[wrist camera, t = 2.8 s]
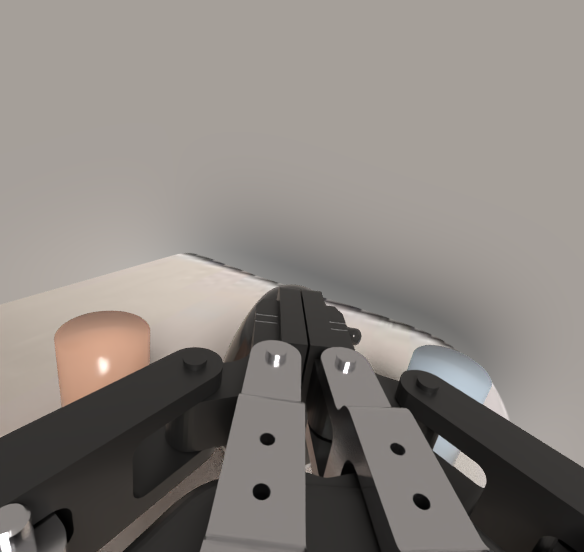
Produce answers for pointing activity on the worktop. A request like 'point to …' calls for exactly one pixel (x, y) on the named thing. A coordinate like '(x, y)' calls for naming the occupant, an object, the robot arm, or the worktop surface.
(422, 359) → the slate-blue canister
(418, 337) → the worktop surface
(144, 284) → the worktop surface
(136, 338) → the terracotta canister
